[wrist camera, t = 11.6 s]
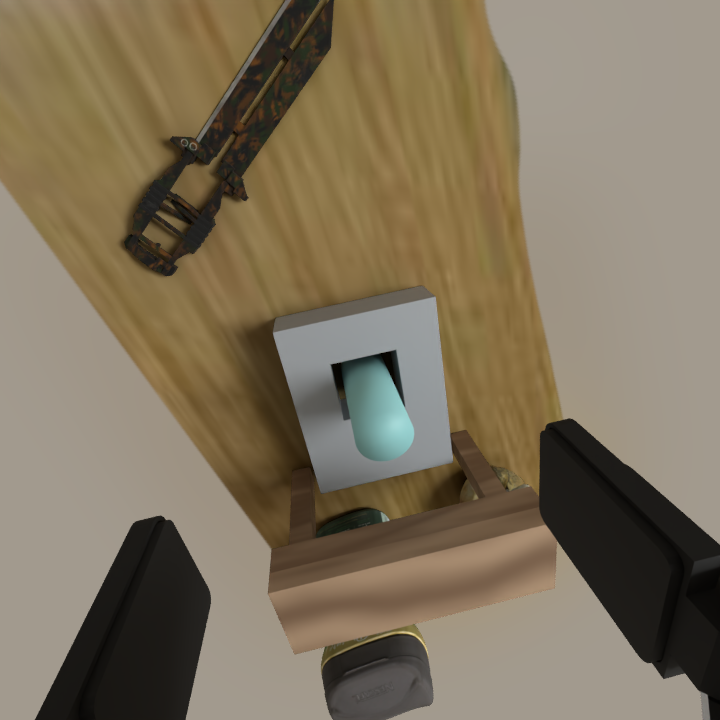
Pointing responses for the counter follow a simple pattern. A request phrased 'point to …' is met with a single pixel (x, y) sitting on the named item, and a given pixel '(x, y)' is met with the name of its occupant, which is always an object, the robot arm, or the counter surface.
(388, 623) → the open wooden frame
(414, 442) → the socket
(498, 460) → the counter surface
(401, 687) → the coffee jar
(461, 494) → the onion
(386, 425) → the peg
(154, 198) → the knife
